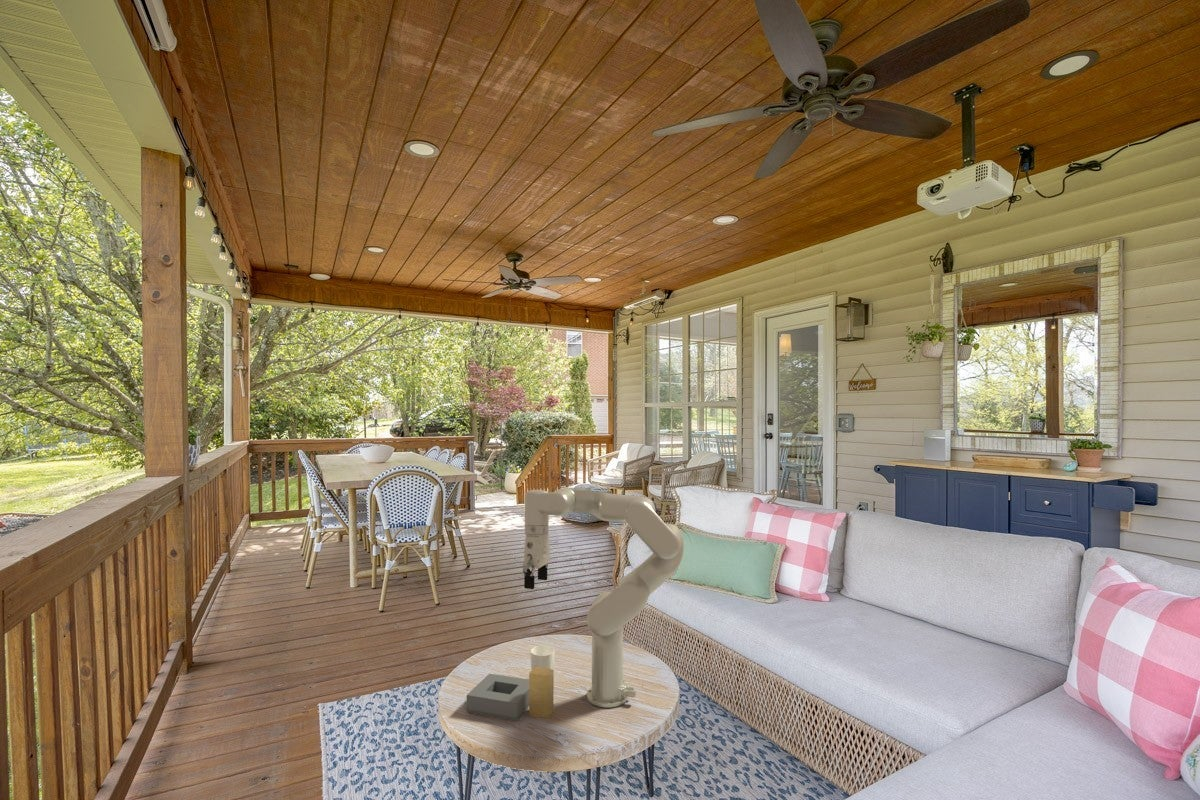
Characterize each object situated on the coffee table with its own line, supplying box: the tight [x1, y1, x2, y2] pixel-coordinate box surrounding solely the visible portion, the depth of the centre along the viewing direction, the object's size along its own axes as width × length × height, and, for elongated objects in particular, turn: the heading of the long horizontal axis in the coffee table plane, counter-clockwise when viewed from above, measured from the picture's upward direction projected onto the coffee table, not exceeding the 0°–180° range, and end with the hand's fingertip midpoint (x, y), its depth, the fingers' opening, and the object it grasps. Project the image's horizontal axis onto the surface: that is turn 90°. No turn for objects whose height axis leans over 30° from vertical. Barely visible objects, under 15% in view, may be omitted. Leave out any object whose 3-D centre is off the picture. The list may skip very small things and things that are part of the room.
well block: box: [465, 673, 529, 722], centre depth 165 cm, size 16×14×5 cm
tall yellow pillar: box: [528, 667, 555, 719], centre depth 160 cm, size 6×4×12 cm, turn 74°
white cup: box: [530, 645, 556, 672], centre depth 180 cm, size 8×8×10 cm
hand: (536, 583), depth 174 cm, fingers open, 9 cm apart
